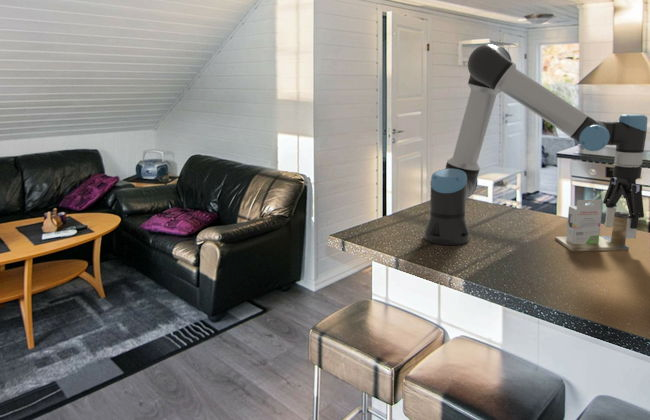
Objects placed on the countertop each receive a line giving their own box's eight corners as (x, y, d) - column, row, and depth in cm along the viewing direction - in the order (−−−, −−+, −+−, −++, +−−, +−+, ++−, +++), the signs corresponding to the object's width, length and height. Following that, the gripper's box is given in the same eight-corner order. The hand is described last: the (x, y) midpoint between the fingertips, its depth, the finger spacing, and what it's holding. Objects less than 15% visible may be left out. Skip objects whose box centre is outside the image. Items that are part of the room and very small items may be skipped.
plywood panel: (570, 250, 163) (571, 247, 163) (554, 239, 175) (555, 236, 174) (628, 250, 163) (628, 246, 162) (608, 238, 174) (609, 235, 174)
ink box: (590, 239, 171) (595, 195, 167) (598, 244, 166) (604, 199, 162) (564, 240, 170) (569, 196, 167) (572, 244, 166) (576, 199, 162)
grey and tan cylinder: (615, 245, 164) (618, 215, 161) (608, 241, 168) (611, 211, 165) (627, 245, 164) (631, 214, 161) (620, 241, 168) (624, 211, 165)
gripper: (664, 171, 148) (654, 243, 153) (619, 159, 171) (611, 221, 176) (637, 172, 148) (628, 244, 153) (596, 159, 171) (589, 222, 177)
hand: (619, 232), depth 165 cm, fingers open, 12 cm apart
